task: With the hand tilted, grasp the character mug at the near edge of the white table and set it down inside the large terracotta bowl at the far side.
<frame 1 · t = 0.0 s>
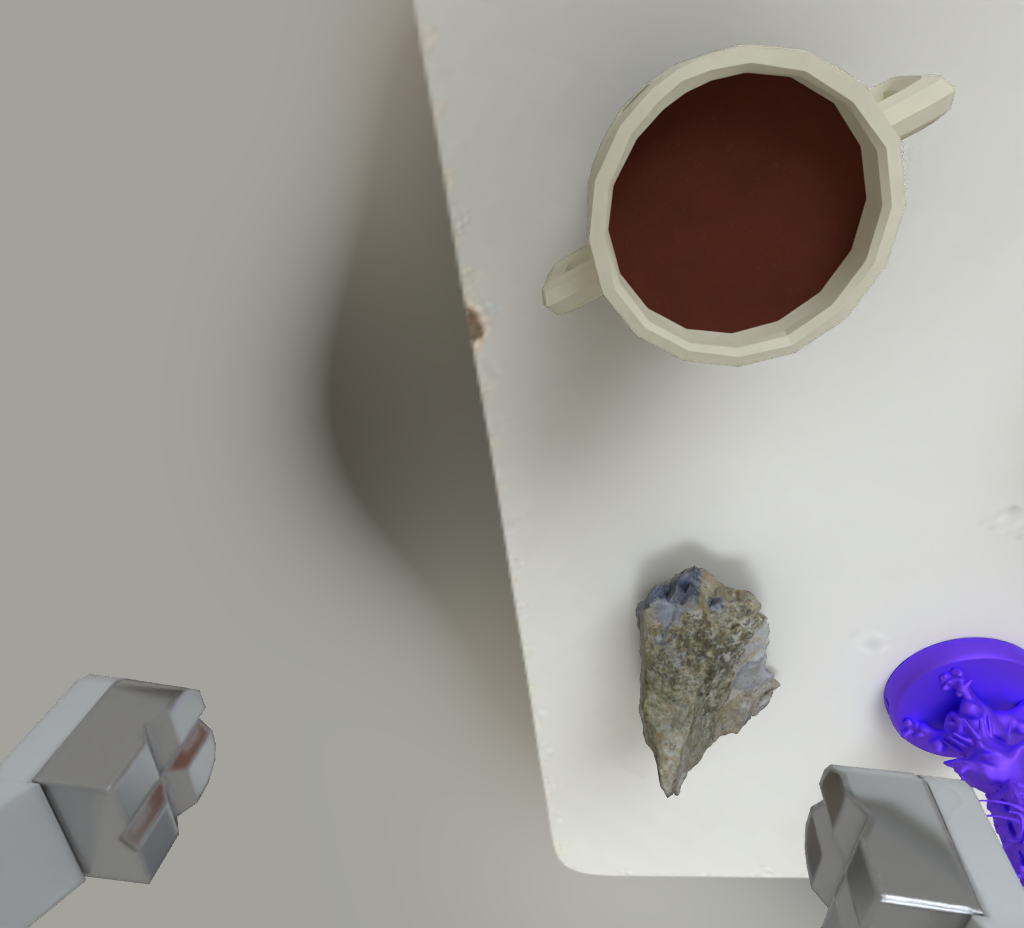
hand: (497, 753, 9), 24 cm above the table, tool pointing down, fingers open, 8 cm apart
figurine: (960, 689, 38), on the table
character mug: (690, 163, 27), on the table
rock: (706, 621, 38), on the table
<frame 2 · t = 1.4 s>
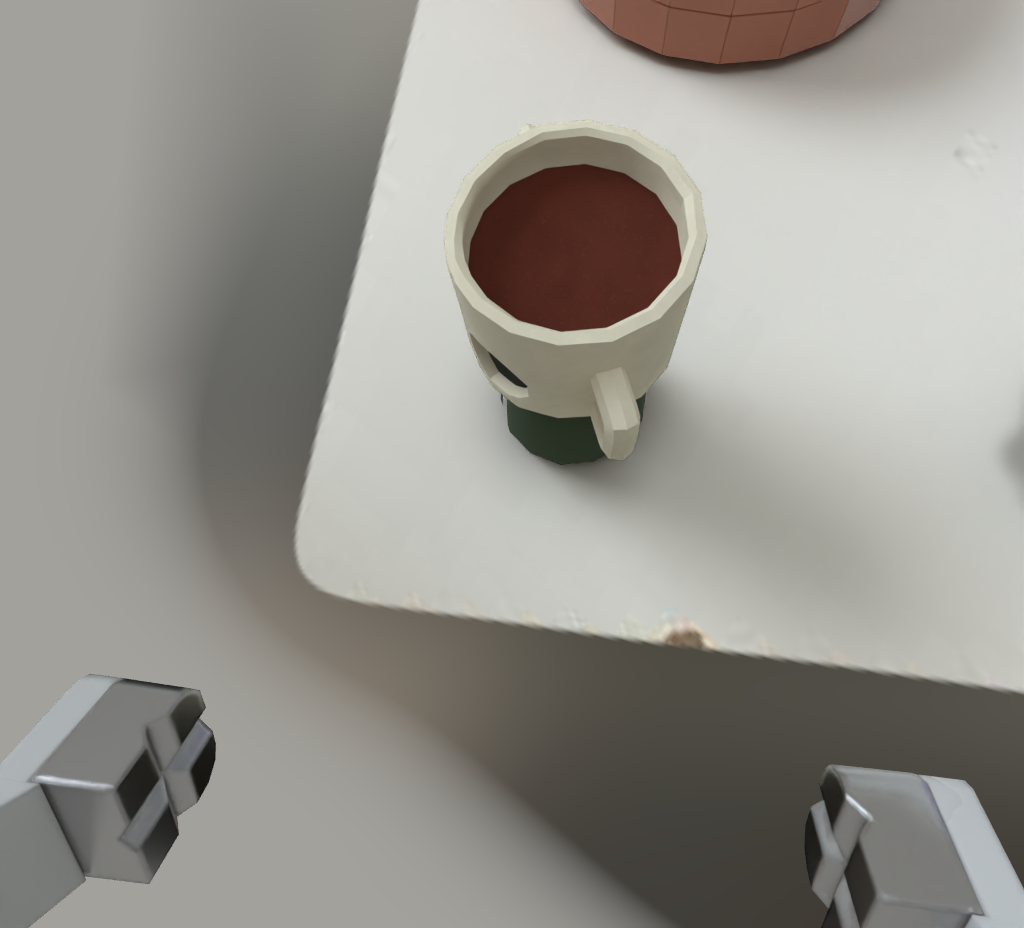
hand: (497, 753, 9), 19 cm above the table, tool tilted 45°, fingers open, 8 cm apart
character mug: (572, 403, 31), on the table
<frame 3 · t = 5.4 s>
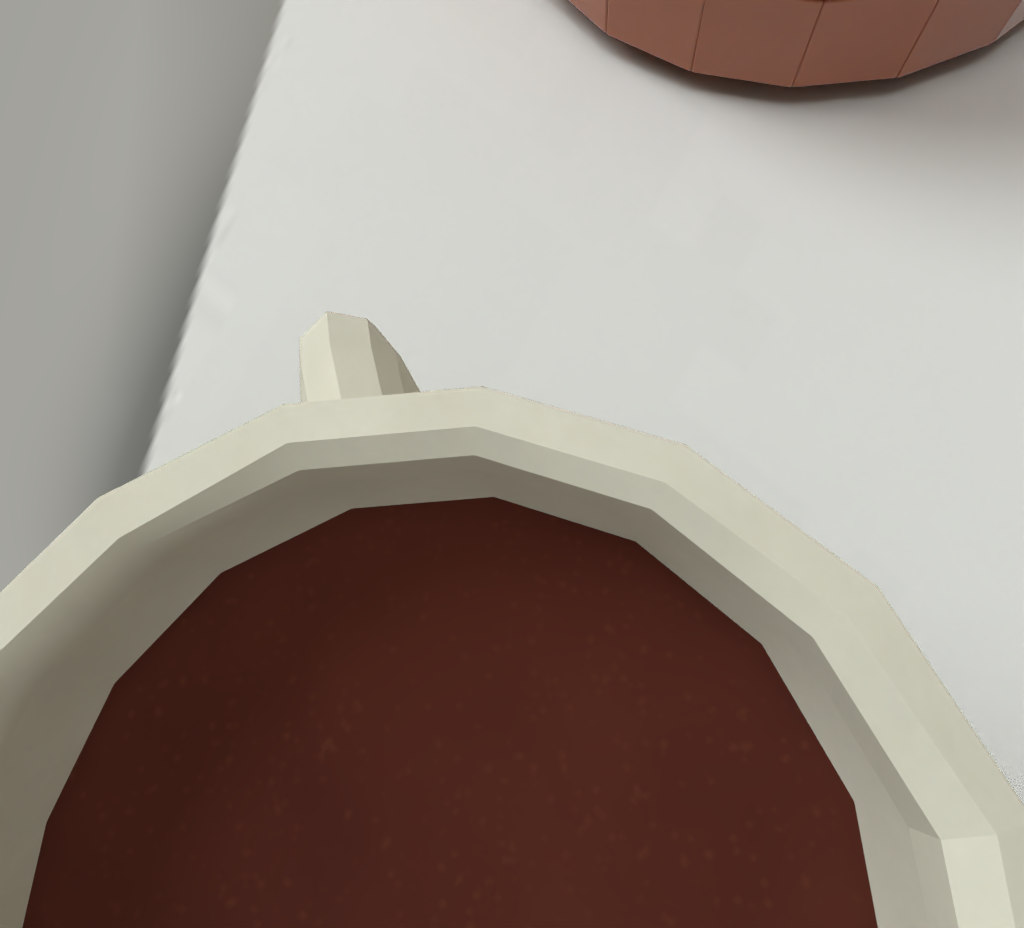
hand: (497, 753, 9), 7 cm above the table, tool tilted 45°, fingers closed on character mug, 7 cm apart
character mug: (531, 743, 16), on the table, touching gripper
when the fingers open (8 cm above the table, at t = 17.5 s): character mug stays where it is, resting on bowl.
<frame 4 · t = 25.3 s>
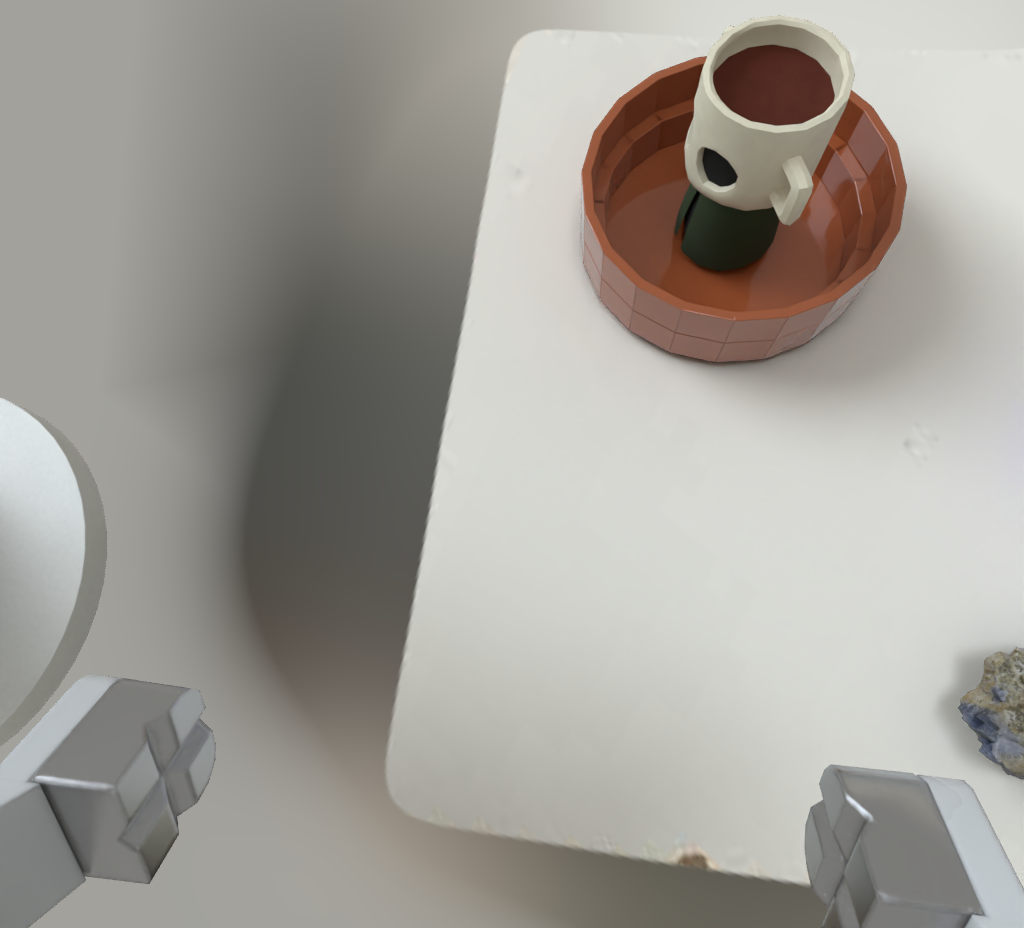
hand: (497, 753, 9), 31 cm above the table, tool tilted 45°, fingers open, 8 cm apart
character mug: (721, 236, 46), resting on bowl
bowl: (719, 239, 46), on the table
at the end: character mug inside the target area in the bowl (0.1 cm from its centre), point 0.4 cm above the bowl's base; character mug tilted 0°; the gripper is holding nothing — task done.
